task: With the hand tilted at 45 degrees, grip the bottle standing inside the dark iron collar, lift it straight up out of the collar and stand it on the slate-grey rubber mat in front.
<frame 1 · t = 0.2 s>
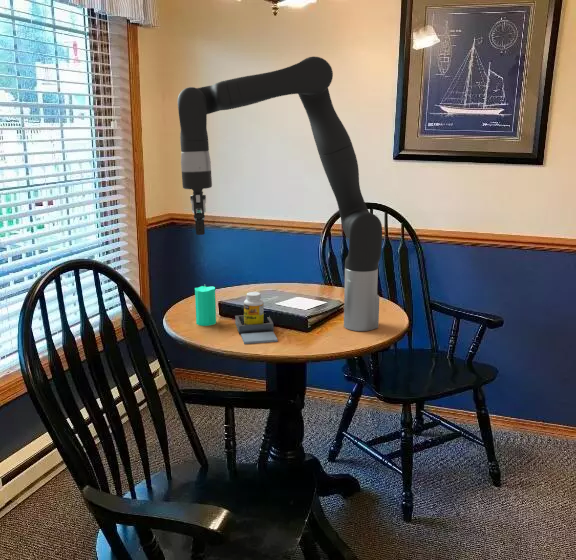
hand: (200, 232, 155), 29 cm above the table, tool pointing down, fingers open, 8 cm apart
slate mat: (259, 338, 161), on the table
iron collar: (254, 327, 169), on the table
candle: (206, 323, 174), on the table
supplement bottle: (254, 328, 169), resting in iron collar
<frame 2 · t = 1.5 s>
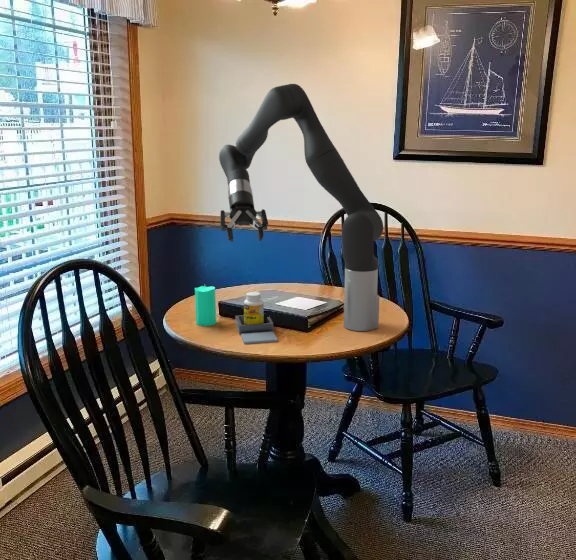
hand: (246, 240, 176), 23 cm above the table, tool tilted 45°, fingers open, 8 cm apart
nothing on the table moved.
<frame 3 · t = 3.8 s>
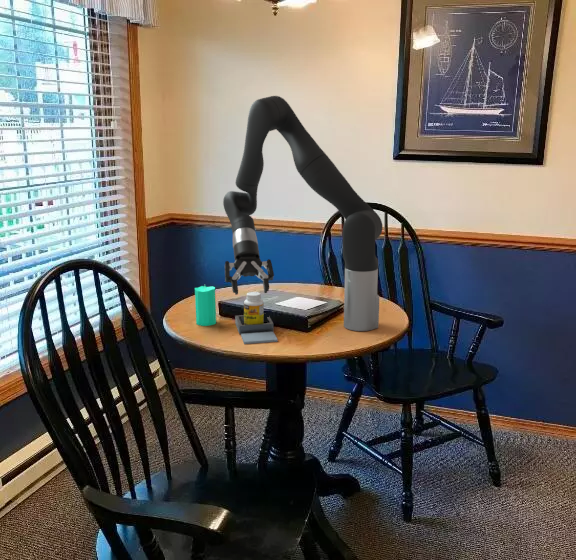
hand: (251, 292, 171), 9 cm above the table, tool tilted 45°, fingers open, 8 cm apart
nothing on the table moved.
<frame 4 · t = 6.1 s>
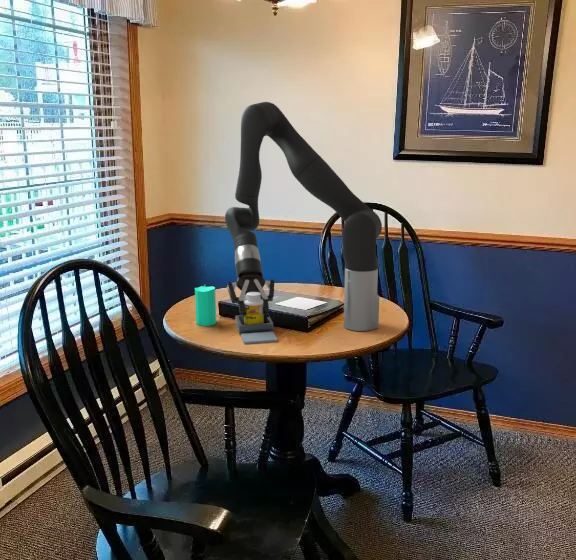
hand: (254, 313, 167), 5 cm above the table, tool tilted 45°, fingers closed on supplement bottle, 5 cm apart
supplement bottle: (254, 328, 169), resting in iron collar, touching gripper
everything else where it was.
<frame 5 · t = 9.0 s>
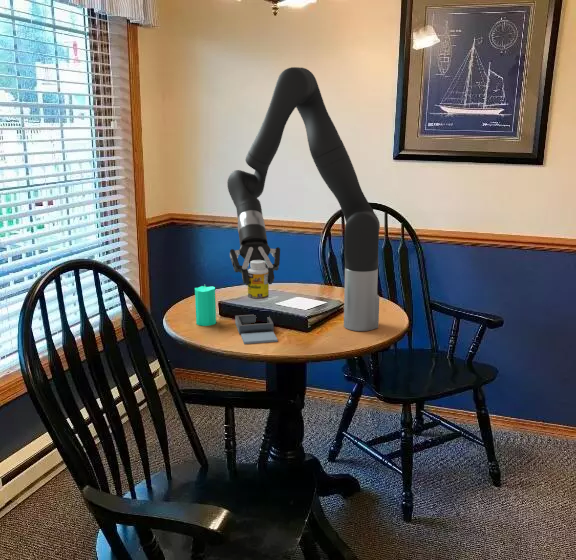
hand: (259, 283, 155), 16 cm above the table, tool tilted 45°, fingers closed on supplement bottle, 5 cm apart
supplement bottle: (258, 299, 158), point 11 cm above the table, touching gripper
everything else where it was.
when the fingers open (7 cm above the table, at t = 12.0 s): supplement bottle drops 1 cm, resting on slate mat.
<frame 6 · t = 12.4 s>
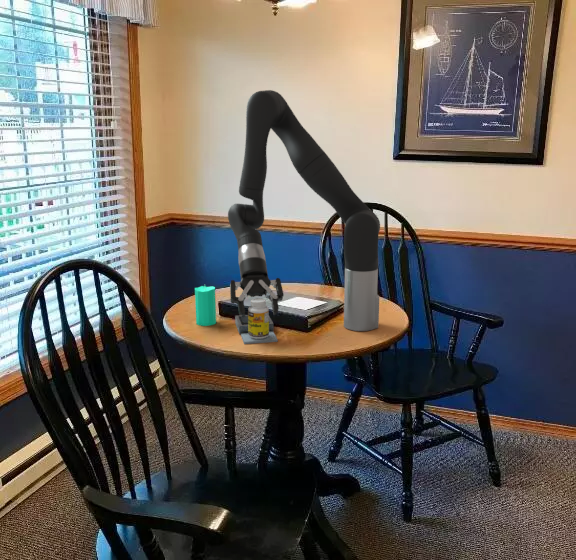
hand: (259, 314, 157), 7 cm above the table, tool tilted 45°, fingers open, 8 cm apart
supplement bottle: (258, 337, 161), resting on slate mat
everything else where it was.
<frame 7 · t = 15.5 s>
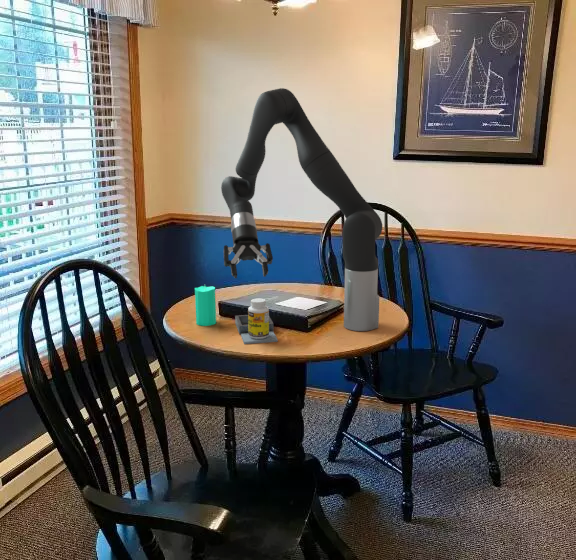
hand: (250, 276, 171), 14 cm above the table, tool tilted 45°, fingers open, 8 cm apart
nothing on the table moved.
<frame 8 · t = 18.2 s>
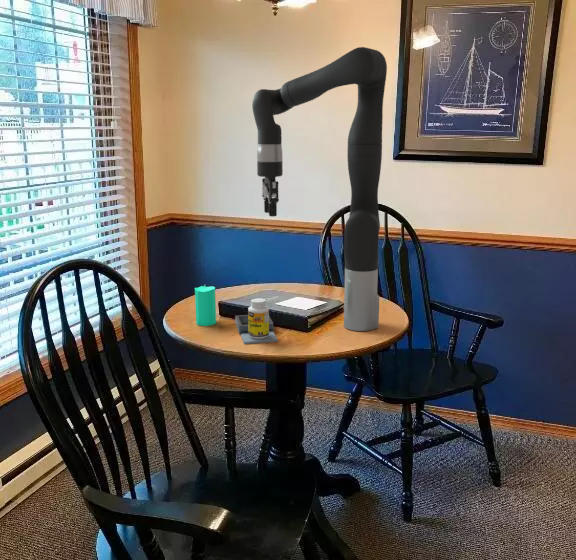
hand: (270, 214, 180), 30 cm above the table, tool pointing down, fingers open, 8 cm apart
nothing on the table moved.
at the end: supplement bottle inside the target area on the slate mat (0.2 cm from its centre), point 0.4 cm above the slate mat's base; supplement bottle tilted 0°; the gripper is holding nothing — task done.
